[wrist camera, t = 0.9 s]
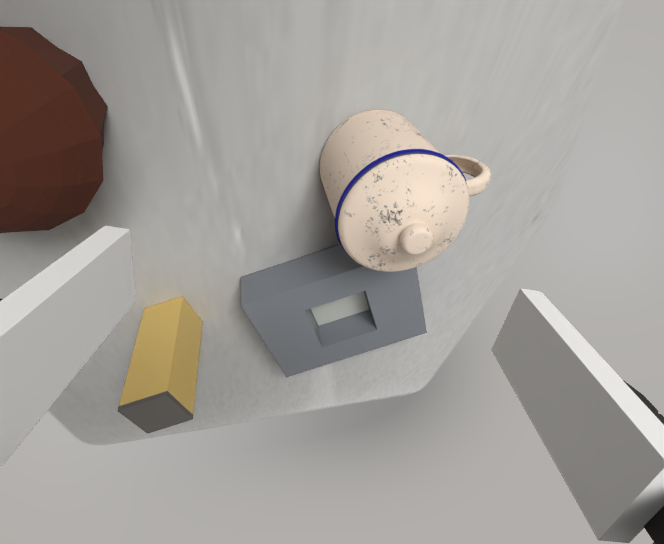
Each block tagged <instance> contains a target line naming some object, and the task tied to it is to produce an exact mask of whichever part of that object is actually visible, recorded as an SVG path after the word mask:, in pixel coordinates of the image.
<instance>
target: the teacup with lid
mask: <svg viewBox="0 0 664 544" xmlns="http://www.w3.org/2000/svg"><path fill="white" fill-rule="evenodd" d="M462 172H463V173H467V174H469V175H471V176H473V177H474V178H472V179H468V180H466V179H465V177H464V175H463V173H462ZM320 176H321V180H322V183H323V186H324V189H325V192H326V195H327V198H328V200H329V203H330V206H331V209H332V212H333V215H334V218H335V230H336V235H337V238H338V241H339V243H340V245H341V246H342V248H343V249H344V251H345V252H346V253H347V254H348V255H349V256H350V257H351V258H352V259H353V260H355V261H356V262H357V263H359V264H361V265H363V266H365V267H367V268H370V269H373V270H377V271H384V272H396V271H403V270H408V269H412V268H415V267H418V266H420V265H422V264H424V263H426V262H428V261H430V260H432V259H433V258H435V257H436V256H438V255H439V254H440V253H442V252H443V251H444V250H445V249H446V248H447V247H448V246H449V245H450V244H451V243H452V242H453V241H454V239H455V238H456V237H457V235H458V234H459V232H460V231H461V229H462V227H463V225H464V222H465V220H466V217H467V213H468V208H469V196H473V195H476V194H478V193H480V192H482V191H484V190H485V189H486V188H487V186H488V185H489V183H490V178H491V172H490V170H489V168H488V167H487V166H486V165H485V164H484V163H482V162H480V161H478V160H476V159H474V158H471V157H467V156H461V155H442V154H440V153H439V152H438V151H437V150H436V149H435V148H434V147H433V146H432V145H431V144H430V143H429V141H428V140H427V139H426V138H425V137H424V136H423V135H422V134H421V133H420V132H419V131H418V130H417V129H416V128H415V127H414V126H413V125H412V124H411V123H410V122H409V121H408V120H407V119H406V118H404V117H403V116H401V115H399V114H397V113H394V112H391V111H386V110H370V111H365V112H361V113H359V114H356V115H354V116H352V117H350V118H349V119H347V120H345V121H344V122H343V123H341V124H340V125H339V126H338V127H337V128H336V129H335V130H334V131H333V133H332V134H331V135H330V137H329V138H328V140H327V142H326V144H325V146H324V148H323V151H322V154H321V159H320Z"/></svg>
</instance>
